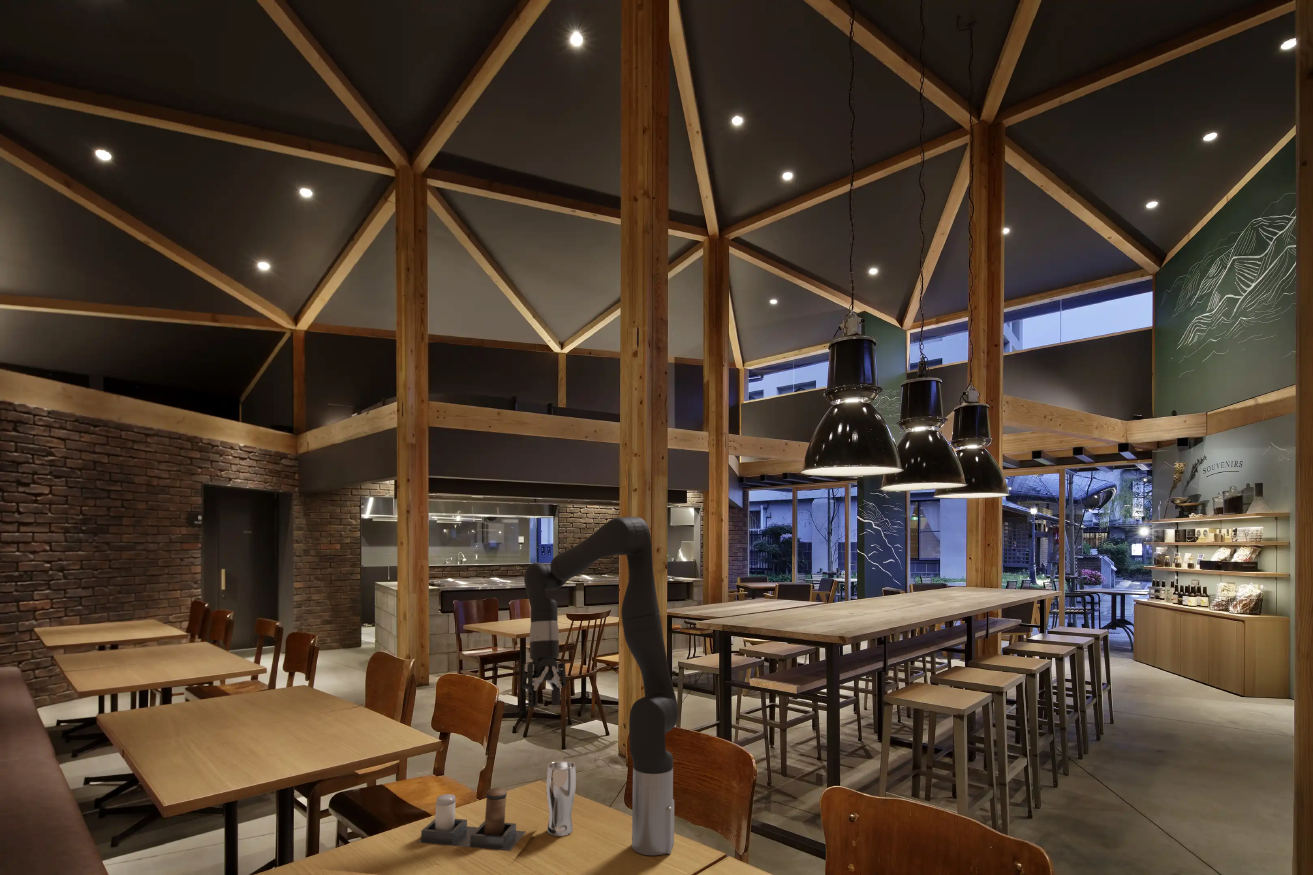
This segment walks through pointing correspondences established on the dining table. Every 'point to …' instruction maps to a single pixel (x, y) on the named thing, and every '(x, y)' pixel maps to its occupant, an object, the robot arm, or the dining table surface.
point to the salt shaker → (445, 813)
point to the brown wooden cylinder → (495, 812)
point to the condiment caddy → (472, 836)
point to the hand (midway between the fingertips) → (544, 705)
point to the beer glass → (560, 797)
